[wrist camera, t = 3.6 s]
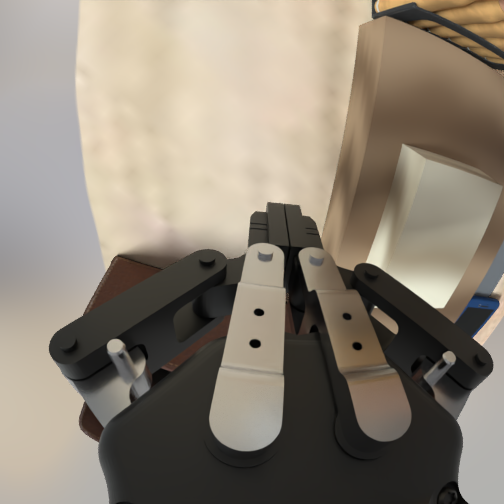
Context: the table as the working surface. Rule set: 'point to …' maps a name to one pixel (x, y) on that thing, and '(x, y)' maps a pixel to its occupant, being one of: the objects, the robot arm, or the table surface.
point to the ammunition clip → (454, 23)
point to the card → (433, 223)
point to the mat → (492, 275)
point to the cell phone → (476, 314)
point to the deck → (413, 139)
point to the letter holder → (116, 282)
